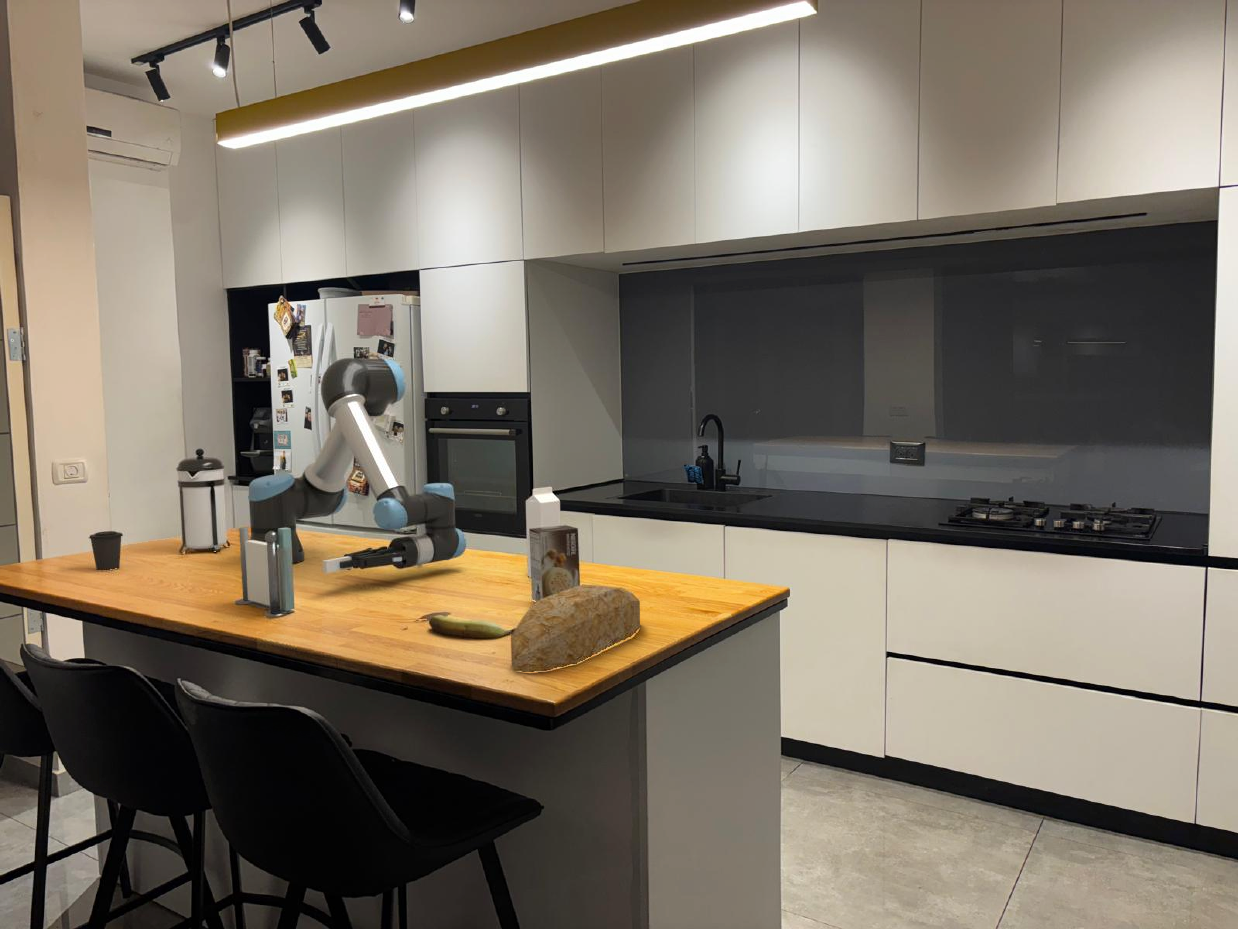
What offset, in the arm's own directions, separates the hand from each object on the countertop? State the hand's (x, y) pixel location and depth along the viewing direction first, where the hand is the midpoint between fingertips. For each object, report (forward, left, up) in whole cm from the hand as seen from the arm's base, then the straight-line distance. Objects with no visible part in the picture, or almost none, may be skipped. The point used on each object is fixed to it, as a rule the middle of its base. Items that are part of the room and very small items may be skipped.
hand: (324, 566), depth 213 cm
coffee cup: (-78, -15, -7) cm, 80 cm away
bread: (+73, +5, -7) cm, 74 cm away
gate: (-1, -14, -6) cm, 15 cm away
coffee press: (-85, +15, -7) cm, 87 cm away
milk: (+25, +45, -7) cm, 52 cm away
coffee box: (+45, +28, -7) cm, 53 cm away
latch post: (+6, -16, -7) cm, 18 cm away
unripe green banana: (+50, -2, -8) cm, 51 cm away
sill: (-3, -13, -7) cm, 15 cm away
